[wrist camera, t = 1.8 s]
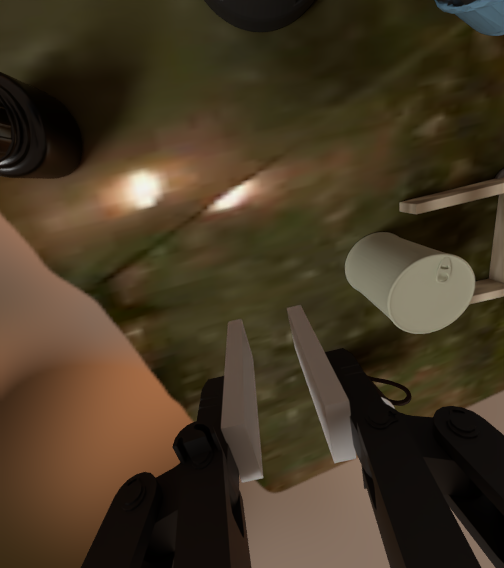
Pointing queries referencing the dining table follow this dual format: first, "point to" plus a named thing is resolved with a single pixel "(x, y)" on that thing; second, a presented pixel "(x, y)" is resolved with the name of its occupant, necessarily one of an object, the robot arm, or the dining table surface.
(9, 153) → the ink bottle
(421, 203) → the wooden u-shaped frame
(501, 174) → the flag pin
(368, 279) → the can
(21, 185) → the dining table surface
